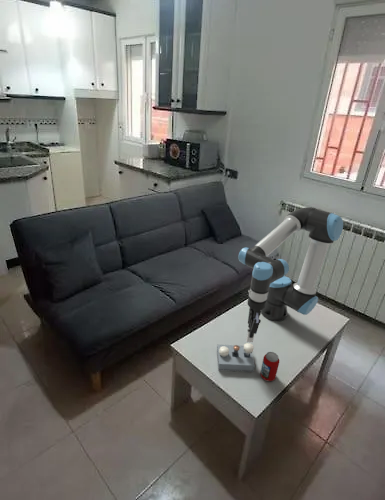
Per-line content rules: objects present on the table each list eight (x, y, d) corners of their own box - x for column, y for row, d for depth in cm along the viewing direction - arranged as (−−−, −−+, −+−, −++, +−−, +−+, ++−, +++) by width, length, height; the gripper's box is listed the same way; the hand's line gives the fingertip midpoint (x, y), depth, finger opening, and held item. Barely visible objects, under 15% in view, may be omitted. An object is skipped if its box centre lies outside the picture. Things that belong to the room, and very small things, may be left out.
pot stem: (238, 351, 144) (239, 345, 142) (239, 356, 142) (240, 349, 140) (232, 351, 144) (233, 344, 142) (232, 355, 141) (233, 349, 140)
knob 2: (251, 351, 145) (252, 343, 143) (252, 358, 141) (254, 350, 139) (242, 350, 145) (243, 342, 143) (243, 357, 141) (244, 349, 139)
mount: (249, 352, 150) (250, 346, 148) (253, 371, 140) (254, 365, 138) (216, 350, 150) (217, 344, 148) (218, 370, 139) (219, 363, 138)
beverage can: (258, 370, 141) (262, 350, 135) (272, 369, 141) (277, 350, 136) (262, 382, 135) (266, 362, 129) (277, 382, 135) (282, 362, 130)
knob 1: (227, 354, 146) (228, 346, 144) (228, 361, 142) (229, 353, 140) (218, 353, 146) (219, 346, 144) (218, 360, 142) (219, 353, 140)
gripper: (246, 288, 134) (239, 330, 145) (251, 306, 123) (243, 351, 133) (263, 289, 134) (255, 331, 145) (269, 307, 123) (260, 352, 133)
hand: (249, 340), depth 139 cm, fingers closed
